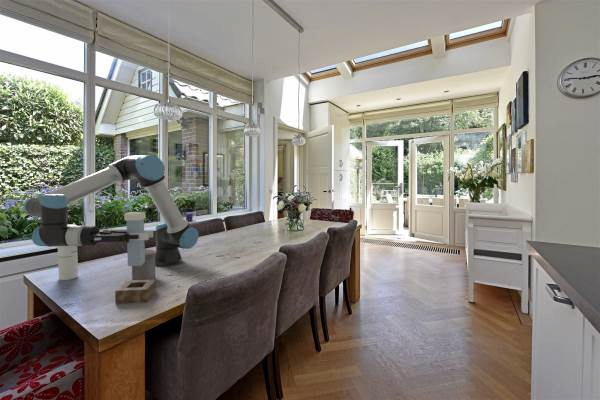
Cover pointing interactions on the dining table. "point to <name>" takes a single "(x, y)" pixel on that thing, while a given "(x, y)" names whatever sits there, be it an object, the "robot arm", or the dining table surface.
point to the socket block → (135, 291)
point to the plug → (135, 246)
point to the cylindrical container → (67, 261)
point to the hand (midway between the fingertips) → (150, 235)
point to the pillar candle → (145, 267)
